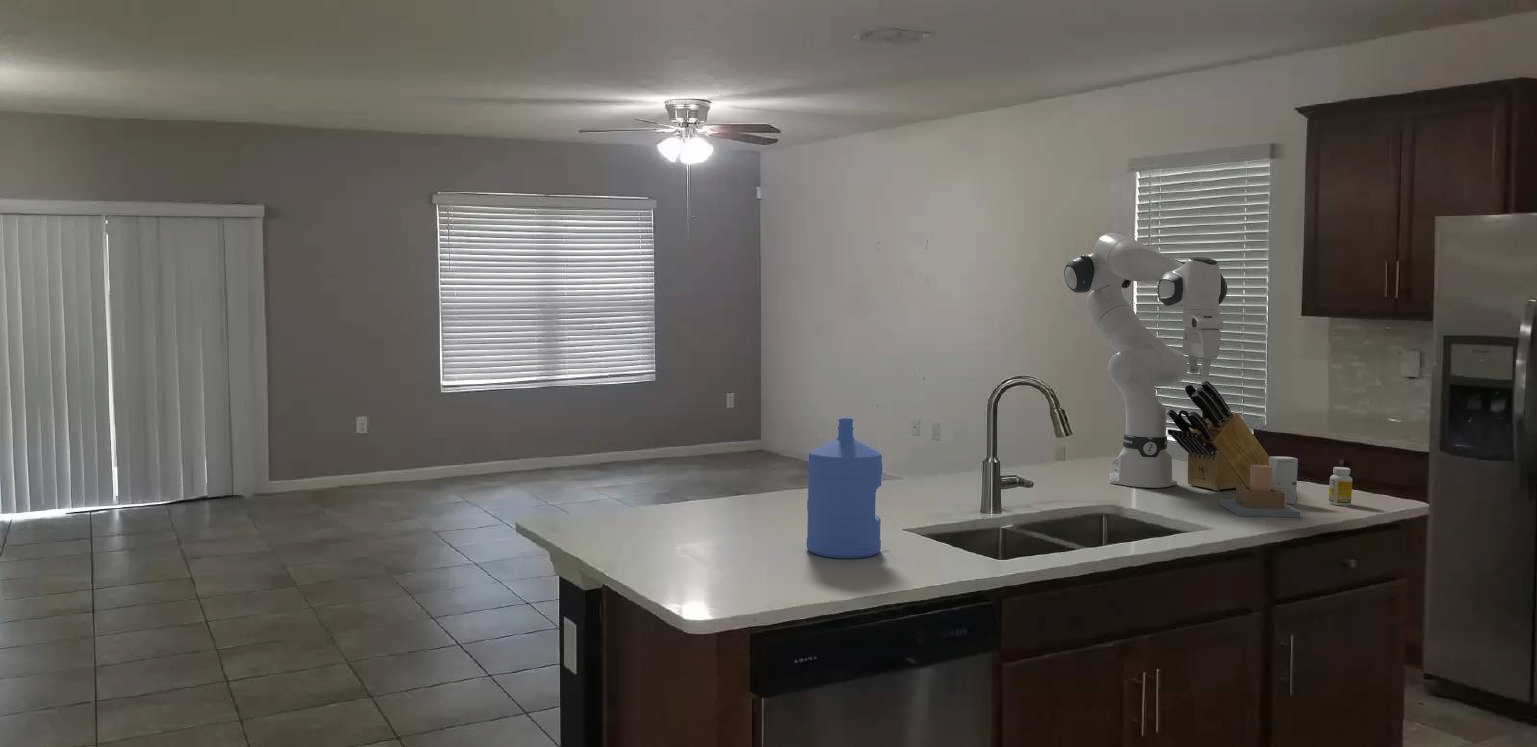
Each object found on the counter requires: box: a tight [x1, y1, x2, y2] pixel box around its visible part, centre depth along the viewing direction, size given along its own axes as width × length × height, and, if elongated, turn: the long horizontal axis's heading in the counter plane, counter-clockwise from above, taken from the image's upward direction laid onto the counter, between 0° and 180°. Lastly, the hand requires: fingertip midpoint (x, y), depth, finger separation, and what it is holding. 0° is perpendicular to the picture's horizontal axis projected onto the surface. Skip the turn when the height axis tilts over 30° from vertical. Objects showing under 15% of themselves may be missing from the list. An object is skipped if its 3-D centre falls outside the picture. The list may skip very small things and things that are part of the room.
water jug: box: [806, 417, 883, 560], centre depth 248 cm, size 16×16×28 cm
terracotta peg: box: [1249, 465, 1272, 492], centre depth 300 cm, size 4×4×10 cm
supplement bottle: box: [1328, 466, 1353, 507], centre depth 312 cm, size 5×5×10 cm
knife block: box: [1167, 380, 1270, 492], centre depth 336 cm, size 11×35×31 cm, turn 115°
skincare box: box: [1269, 455, 1299, 505], centre depth 312 cm, size 6×4×12 cm
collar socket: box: [1219, 486, 1302, 519], centre depth 301 cm, size 15×15×6 cm
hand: (1198, 374), depth 304 cm, fingers open, 8 cm apart
